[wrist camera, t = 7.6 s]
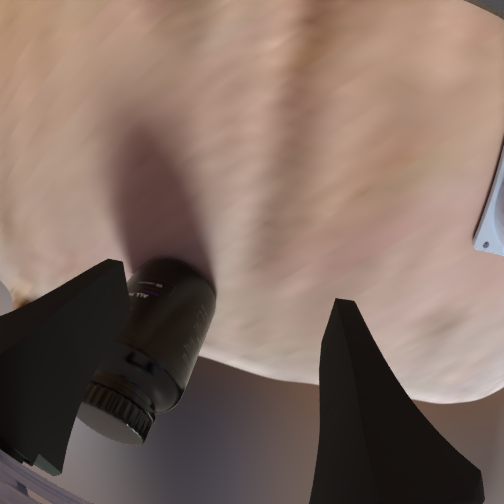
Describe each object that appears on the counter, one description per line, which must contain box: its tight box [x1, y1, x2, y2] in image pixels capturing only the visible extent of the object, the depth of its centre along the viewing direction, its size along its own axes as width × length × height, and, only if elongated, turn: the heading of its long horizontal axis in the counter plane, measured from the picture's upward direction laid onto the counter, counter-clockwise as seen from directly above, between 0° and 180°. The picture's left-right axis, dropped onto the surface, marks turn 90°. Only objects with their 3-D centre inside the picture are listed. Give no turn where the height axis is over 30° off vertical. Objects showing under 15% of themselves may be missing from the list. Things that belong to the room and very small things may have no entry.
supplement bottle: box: [77, 258, 216, 446], centre depth 19 cm, size 7×7×12 cm
